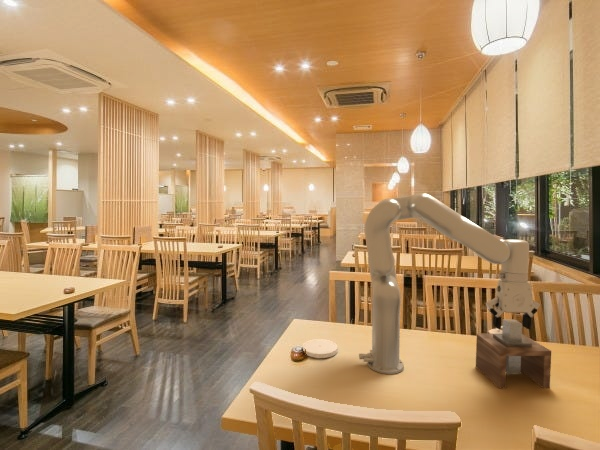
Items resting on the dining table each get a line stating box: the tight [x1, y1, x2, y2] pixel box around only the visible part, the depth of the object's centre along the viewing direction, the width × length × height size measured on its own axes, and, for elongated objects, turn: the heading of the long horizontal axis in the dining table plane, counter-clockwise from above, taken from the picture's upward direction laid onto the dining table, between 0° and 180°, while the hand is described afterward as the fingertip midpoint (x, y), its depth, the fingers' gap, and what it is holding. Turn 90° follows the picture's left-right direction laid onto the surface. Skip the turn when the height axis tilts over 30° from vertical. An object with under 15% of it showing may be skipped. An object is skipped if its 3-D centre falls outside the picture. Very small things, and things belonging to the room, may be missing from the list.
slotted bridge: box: [475, 333, 552, 389], centre depth 112 cm, size 16×14×12 cm
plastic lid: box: [302, 338, 339, 359], centre depth 133 cm, size 14×14×2 cm
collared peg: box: [493, 318, 532, 375], centre depth 112 cm, size 8×8×17 cm
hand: (511, 327), depth 112 cm, fingers open, 9 cm apart
